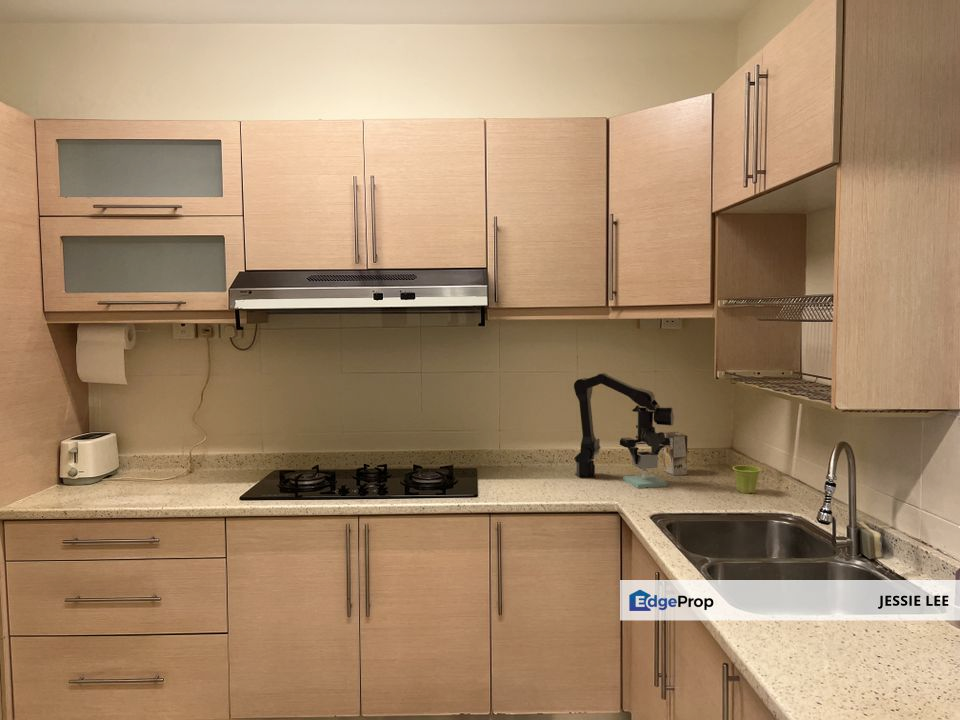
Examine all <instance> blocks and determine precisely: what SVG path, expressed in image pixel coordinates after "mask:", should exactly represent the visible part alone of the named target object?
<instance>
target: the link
mask: <svg viewBox="0 0 960 720" xmlns="http://www.w3.org/2000/svg"><path fill="white" fill-rule="evenodd" d="M658 458H659V454H658V455H657V454H655V453H652V452H651V451H649V450H646V451H645V450H644V451H642V450H641V451H637V464H635V463H634V460H633V458H632V459H631V462H632V463H631V465H632V466H634V467H636V468H639V469H640V470H643V469H646V470H648V469H658V466H659V460H658Z"/></svg>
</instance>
